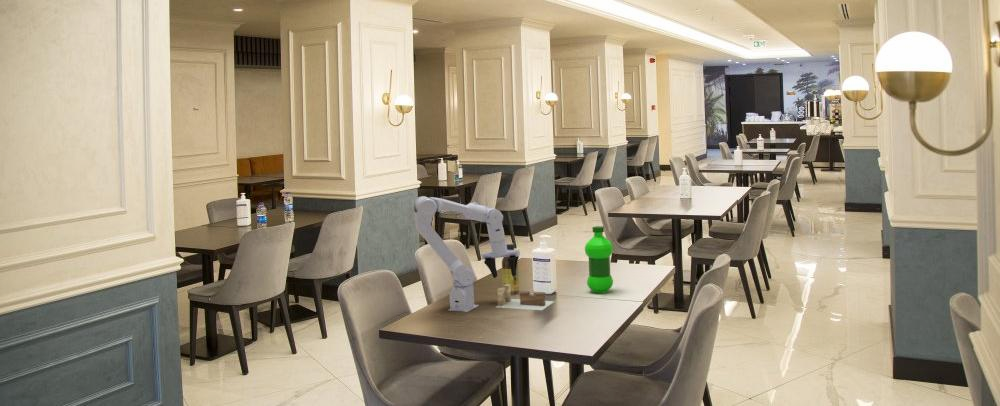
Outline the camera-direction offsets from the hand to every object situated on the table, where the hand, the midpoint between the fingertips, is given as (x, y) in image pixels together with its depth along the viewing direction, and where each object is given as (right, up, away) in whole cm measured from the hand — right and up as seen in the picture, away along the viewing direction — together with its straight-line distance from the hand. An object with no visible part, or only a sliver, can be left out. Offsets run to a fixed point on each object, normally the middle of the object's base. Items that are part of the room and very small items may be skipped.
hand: (504, 276), depth 276 cm
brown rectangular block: (+10, -10, -5) cm, 15 cm away
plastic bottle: (+37, -7, +12) cm, 39 cm away
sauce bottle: (+2, -9, +15) cm, 17 cm away
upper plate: (0, -10, -1) cm, 10 cm away
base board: (+7, -10, -4) cm, 13 cm away
